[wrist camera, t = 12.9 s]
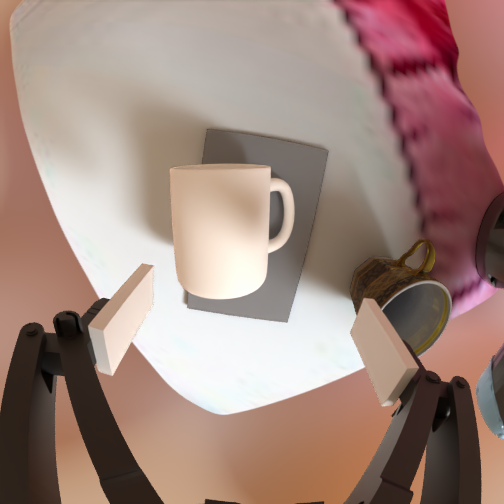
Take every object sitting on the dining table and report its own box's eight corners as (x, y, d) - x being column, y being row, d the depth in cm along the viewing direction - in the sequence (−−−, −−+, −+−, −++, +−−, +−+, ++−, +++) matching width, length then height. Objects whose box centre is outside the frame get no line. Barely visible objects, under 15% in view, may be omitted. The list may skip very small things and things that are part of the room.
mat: (286, 319, 33) (287, 322, 32) (188, 305, 32) (187, 308, 31) (326, 150, 26) (328, 150, 25) (208, 129, 25) (207, 128, 24)
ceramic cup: (395, 314, 33) (429, 362, 24) (328, 315, 33) (351, 370, 23) (422, 222, 28) (474, 252, 19) (350, 211, 28) (393, 242, 19)
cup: (167, 269, 27) (160, 167, 23) (268, 250, 32) (271, 162, 29) (194, 311, 20) (186, 171, 16) (316, 277, 26) (325, 169, 22)
